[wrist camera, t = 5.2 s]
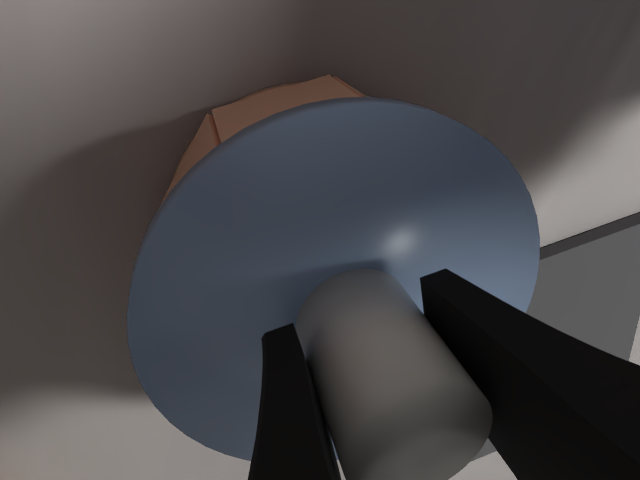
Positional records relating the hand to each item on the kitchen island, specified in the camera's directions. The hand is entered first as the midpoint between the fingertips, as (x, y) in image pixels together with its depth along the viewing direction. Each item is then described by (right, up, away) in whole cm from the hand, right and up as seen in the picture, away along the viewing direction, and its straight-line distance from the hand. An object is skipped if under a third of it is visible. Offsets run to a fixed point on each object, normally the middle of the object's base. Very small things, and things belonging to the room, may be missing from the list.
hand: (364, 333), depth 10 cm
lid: (0, +1, +2) cm, 2 cm away
